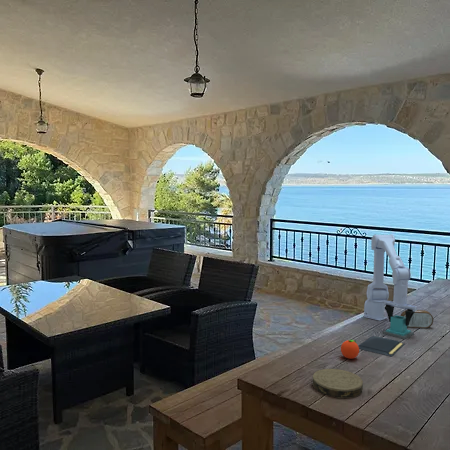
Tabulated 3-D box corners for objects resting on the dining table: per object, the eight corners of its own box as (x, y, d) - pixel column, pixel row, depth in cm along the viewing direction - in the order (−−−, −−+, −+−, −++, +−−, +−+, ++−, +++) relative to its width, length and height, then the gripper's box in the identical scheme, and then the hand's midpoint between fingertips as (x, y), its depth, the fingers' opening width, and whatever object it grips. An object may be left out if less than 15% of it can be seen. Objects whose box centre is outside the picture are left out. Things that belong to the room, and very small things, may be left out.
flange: (386, 331, 195) (386, 317, 194) (393, 328, 200) (394, 313, 200) (403, 336, 189) (404, 321, 188) (410, 332, 194) (411, 317, 194)
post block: (382, 333, 195) (383, 323, 194) (392, 329, 202) (393, 318, 201) (404, 339, 187) (405, 328, 187) (413, 334, 194) (414, 323, 194)
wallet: (371, 333, 191) (407, 341, 181) (371, 337, 191) (406, 345, 181) (354, 344, 176) (391, 354, 166) (353, 349, 176) (391, 358, 166)
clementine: (347, 352, 170) (348, 335, 169) (363, 357, 165) (364, 339, 164) (336, 357, 164) (337, 339, 164) (353, 363, 159) (354, 344, 159)
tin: (431, 327, 206) (432, 310, 206) (433, 329, 203) (434, 312, 202) (399, 325, 208) (400, 308, 207) (401, 327, 204) (402, 310, 204)
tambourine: (332, 402, 129) (333, 393, 129) (303, 381, 144) (303, 372, 143) (373, 393, 135) (373, 384, 135) (340, 374, 150) (341, 365, 150)
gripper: (381, 292, 196) (379, 321, 197) (412, 298, 185) (411, 329, 186) (387, 290, 200) (386, 318, 201) (419, 296, 190) (417, 325, 191)
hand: (398, 323), depth 194 cm, fingers open, 7 cm apart
